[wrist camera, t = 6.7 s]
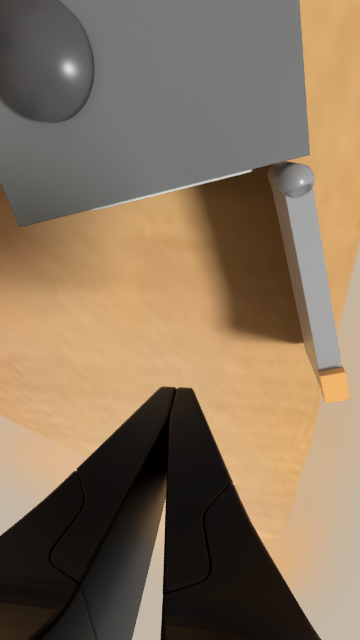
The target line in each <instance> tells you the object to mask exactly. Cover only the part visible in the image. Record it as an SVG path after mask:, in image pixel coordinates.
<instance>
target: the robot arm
mask: <svg viewBox="0 0 360 640" xmlns="http://www.w3.org/2000/svg"><path fill="white" fill-rule="evenodd" d="M165 498H166V516H165V545H164V547H165V548H164V575H163V606H162V627H161V640H321V639H320V637H319V636H318V634H317V633H316V631H315V630H314V628H313V627H312V625H311V624H310V622H309V621H308V619H307V617H306V616H305V614H304V613H303V611H302V609H301V608H300V606H299V604H298V602H297V601H296V599H295V597H294V596H293V594H292V592H291V591H290V589H289V587H288V585H287V584H286V582H285V580H284V579H283V577H282V575H281V574H280V572H279V570H278V568H277V567H276V565H275V563H274V562H273V560H272V558H271V557H270V555H269V553H268V551H267V550H266V548H265V546H264V545H263V543H262V541H261V539H260V537H259V536H258V534H257V532H256V530H255V528H254V526H253V525H252V523H251V521H250V519H249V517H248V515H247V513H246V510H245V508H244V506H243V504H242V502H241V500H240V498H239V495H238V493H237V491H236V488H235V486H234V485H233V482H232V479H231V477H230V475H229V472H228V470H227V468H226V465H225V463H224V461H223V458H222V456H221V454H220V451H219V449H218V447H217V444H216V442H215V440H214V437H213V435H212V433H211V430H210V428H209V426H208V423H207V421H206V419H205V416H204V414H203V412H202V409H201V407H200V405H199V402H198V400H197V398H196V395H195V393H194V391H193V389H192V388H182V387H179V388H177V389H176V388H175V387H160V388H159V389H158V390H157V391H156V392H155V393H154V394H153V395H152V396H151V397H150V398H149V399H148V400H147V401H146V402H145V403H144V404H143V405H142V406H141V407H140V408H139V409H138V410H137V411H136V412H135V413H134V414H133V415H132V416H131V417H130V418H128V419H127V420H126V421H125V422H124V423H123V424H122V425H121V426H120V427H119V428H118V429H117V430H116V431H115V432H114V433H113V434H112V435H111V436H110V437H109V438H108V439H107V440H106V441H105V442H104V443H103V444H102V445H101V446H100V447H99V448H98V449H97V450H96V451H95V452H94V453H93V454H91V455H90V456H89V457H88V458H87V459H86V460H85V461H84V462H83V463H82V464H81V465H80V466H79V467H78V468H77V471H74V472H73V473H72V474H71V475H70V476H69V477H68V478H67V479H66V480H65V481H64V482H62V483H61V484H60V485H59V486H58V487H57V488H56V489H55V490H54V491H53V492H52V493H51V494H50V495H49V496H47V497H46V498H45V499H44V500H43V501H42V502H41V503H39V504H38V505H37V506H36V507H35V508H34V509H32V510H31V511H30V512H29V513H28V514H27V515H25V516H24V517H23V518H22V519H21V520H19V521H18V522H17V523H16V524H14V526H12V527H11V528H10V529H8V530H7V531H6V532H5V533H3V534H2V535H1V536H0V640H132V636H133V632H134V628H135V624H136V620H137V616H138V611H139V607H140V603H141V599H142V594H143V590H144V586H145V582H146V577H147V574H148V569H149V565H150V561H151V557H152V552H153V549H154V544H155V540H156V536H157V532H158V528H159V523H160V519H161V515H162V511H163V506H164V503H165Z"/></svg>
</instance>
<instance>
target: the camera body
mask: <svg viewBox="0 0 360 640" xmlns="http://www.w3.org/2000/svg"><path fill="white" fill-rule="evenodd" d="M307 155H310V149H309V135H308V120H307V106H306V91H305V76H304V62H303V47H302V33H301V18H300V3H299V0H0V183H1V185H2V188H3V190H4V192H5V195H6V197H7V199H8V202H9V204H10V206H11V209H12V211H13V213H14V216H15V218H16V220H17V222H18V225H19V227H23V226H27V225H31V224H35V223H39V222H43V221H47V220H51V219H55V218H59V217H63V216H67V215H71V214H75V213H79V212H83V211H87V210H91V209H92V210H93V211H96V210H100V209H104V208H108V207H112V206H116V205H120V204H124V203H128V202H132V201H136V200H140V199H144V198H148V197H152V196H156V195H160V194H164V193H168V192H172V191H176V190H180V189H184V188H188V187H192V186H196V185H200V184H204V183H208V182H212V181H216V180H220V179H224V178H229V177H233V176H237V175H241V174H245V173H249V172H252V170H251V169H255V168H259V167H263V166H267V165H271V164H275V163H279V162H283V161H287V160H291V159H295V158H299V157H303V156H307Z"/></svg>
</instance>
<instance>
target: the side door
mask: <svg viewBox="0 0 360 640" xmlns="http://www.w3.org/2000/svg"><path fill="white" fill-rule="evenodd" d="M267 178H268V181H269V183H270V184H271V187H272V192H273V197H274V201H275V206H276V211H277V216H278V221H279V226H280V230H281V235H282V240H283V245H284V250H285V255H286V259H287V264H288V269H289V274H290V279H291V283H292V288H293V293H294V298H295V303H296V308H297V312H298V317H299V322H300V327H301V332H302V337H303V341H304V346H305V350H306V353H307V355H308V358H309V360H310V363H311V365H312V368H313V370H314V373H315V375H316V378H317V380H318V383H319V385H320V388H321V391H322V396H323V398H324V401H325V403H329V402H335V401H341V400H348V399H350V398H349V391H348V385H347V378H346V372H345V370H344V368H343V367H342V365H341V361H340V354H339V348H338V341H337V335H336V329H335V322H334V316H333V310H332V303H331V297H330V291H329V285H328V278H327V272H326V266H325V260H324V253H323V247H322V241H321V235H320V228H319V222H318V216H317V209H316V203H315V197H314V191H313V185H314V174H313V171H312V170H311V168H309V167H308V166H307V165H304V164H298V163H292V162H286V161H283V162H279V163H275V164H273V165H272V166H271V167H270V168H269V170H268V174H267Z"/></svg>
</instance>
